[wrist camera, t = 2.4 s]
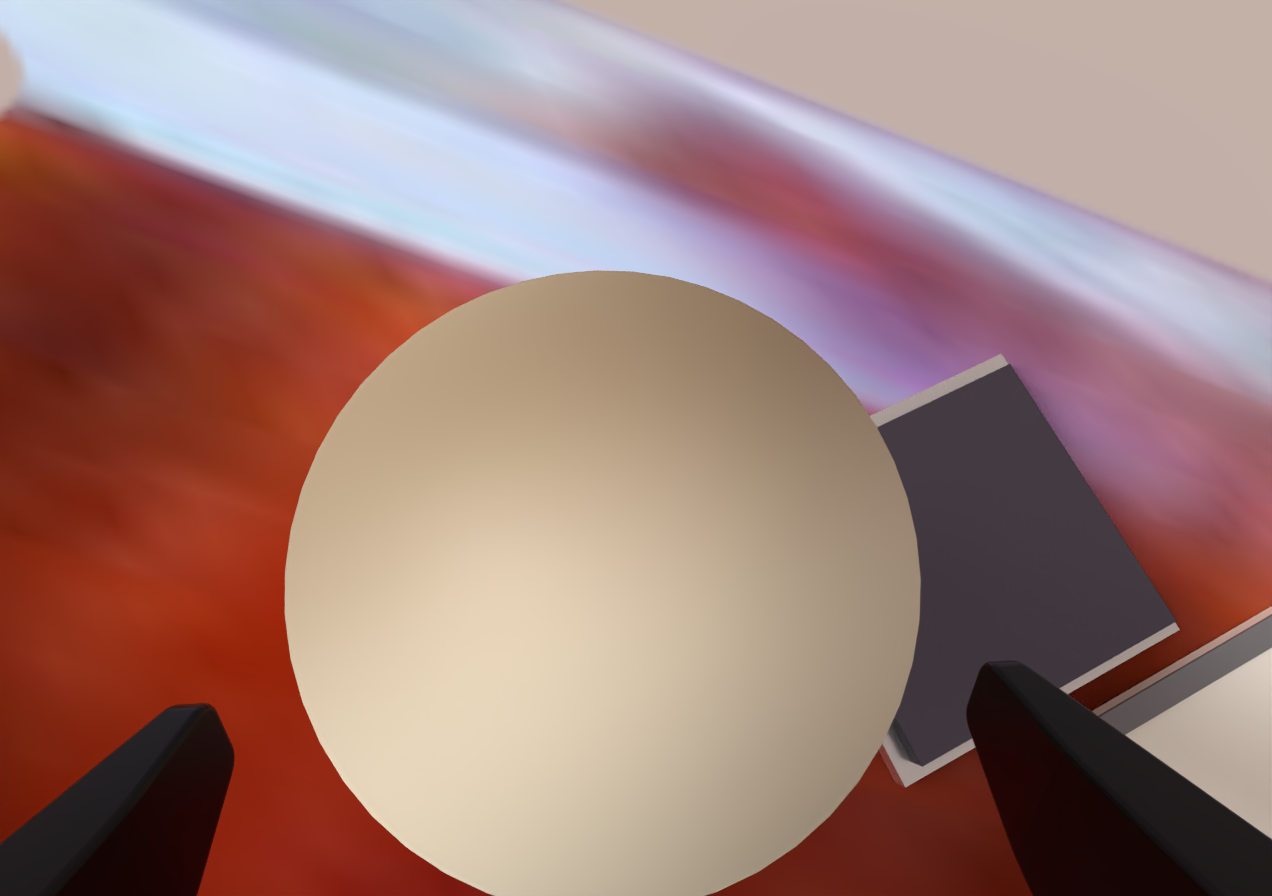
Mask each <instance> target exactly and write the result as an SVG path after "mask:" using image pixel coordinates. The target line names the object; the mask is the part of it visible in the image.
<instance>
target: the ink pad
mask: <svg viewBox="0 0 1272 896" xmlns="http://www.w3.org/2000/svg"><path fill="white" fill-rule="evenodd" d="M870 418H871V419H872V421H873V422H874V423H875V425H876V426H877V428H878V430H879V432H880V434H881V436H882V438H883V440H884V442H885V444H886V446H887V448H888V450H889V452H890V454H891V456H892V458H893V460H894V462H895V465H896V468H897V470H898V473H899V476H900V479H901V481H902V484H903V487H904V490H905V493H906V495H907V498H908V502H909V506H910V511H911V515H912V520H913V524H914V529H915V533H916V537H917V546H918V557H919V567H920V577H921V585H920V617H919V626H918V633H917V639H916V645H915V651H914V657H913V663H912V667H911V670H910V673H909V677H908V680H907V683H906V687H905V690H904V693H903V697H902V700H901V703H900V706H899V708H898V710H897V712H896V715H895V717H894V719H893V721H892V723H891V726H890V728H889V730H888V732H887V735H886V737H885V739H884V741H883V743H882V745H881V747H880V748H879V750H878V751H879V753H880V755H881V757H882V759H883V761H884V762H885V764H886V766H887V768H888V770H889V772H890V774H891V776H892V778H893V780H894V781H895V783H898V784H900V785H902V786H904V787H907V786H909V785H911V784H912V783H914V782H916V781H918V780H919V779H921V778H923V777H925V776H926V775H928V774H930V773H932V772H933V771H935V770H937V769H938V768H940V767H942V766H944V765H945V764H947V763H949V762H951V761H952V760H954V759H956V758H958V757H959V756H961V755H963V754H965V753H966V752H968V751H970V750H972V749H973V748H975V745H974V742H973V739H972V736H971V733H970V731H969V728H968V724H967V719H966V708H967V704H968V701H969V698H970V695H971V692H972V690H973V687H974V684H975V681H976V678H977V675H978V673H979V670H980V668H981V666H982V665H984V664H985V663H986V662H990V661H1009V660H1014V661H1019V662H1022V663H1024V664H1025V665H1027V666H1029V667H1030V668H1031V669H1033V670H1034V671H1036V672H1037V673H1038V674H1040V675H1041V676H1043V677H1044V678H1045V679H1047V680H1048V681H1050V682H1051V683H1053V684H1054V685H1055V686H1057V687H1058V688H1060V689H1061V690H1062V691H1064V692H1065V693H1067V694H1069V693H1071V692H1072V691H1074V690H1076V689H1078V688H1079V687H1081V686H1083V685H1085V684H1086V683H1088V682H1090V681H1092V680H1093V679H1095V678H1097V677H1098V676H1100V675H1102V674H1104V673H1105V672H1107V671H1109V670H1111V669H1112V668H1114V667H1116V666H1118V665H1119V664H1121V663H1123V662H1125V661H1126V660H1128V659H1130V658H1132V657H1133V656H1135V655H1137V654H1138V653H1140V652H1142V651H1144V650H1145V649H1147V648H1149V647H1151V646H1152V645H1154V644H1156V643H1158V642H1159V641H1161V640H1163V639H1165V638H1166V637H1168V636H1170V635H1172V634H1173V633H1175V632H1177V631H1178V630H1180V629H1179V628H1178V626H1177V624H1176V623H1175V622H1176V620H1175V618H1174V616H1173V615H1172V613H1171V612H1170V610H1169V609H1168V607H1167V606H1166V604H1165V603H1164V601H1163V599H1162V598H1161V596H1160V595H1159V593H1158V592H1157V590H1156V589H1155V587H1154V586H1153V584H1152V582H1151V581H1150V579H1149V578H1148V576H1147V575H1146V573H1145V572H1144V570H1143V569H1142V567H1141V565H1140V564H1139V562H1138V561H1137V559H1136V558H1135V556H1134V555H1133V553H1132V552H1131V550H1130V549H1129V547H1128V545H1127V544H1126V542H1125V541H1124V539H1123V538H1122V536H1121V535H1120V533H1119V532H1118V530H1117V528H1116V527H1115V525H1114V524H1113V522H1112V521H1111V519H1110V518H1109V516H1108V515H1107V513H1106V511H1105V510H1104V508H1103V507H1102V505H1101V504H1100V502H1099V501H1098V499H1097V498H1096V496H1095V494H1094V493H1093V491H1092V490H1091V488H1090V487H1089V485H1088V484H1087V482H1086V481H1085V479H1084V478H1083V476H1082V474H1081V473H1080V471H1079V470H1078V468H1077V467H1076V465H1075V464H1074V462H1073V461H1072V459H1071V457H1070V456H1069V454H1068V453H1067V451H1066V450H1065V448H1064V447H1063V445H1062V444H1061V442H1060V440H1059V439H1058V437H1057V436H1056V434H1055V433H1054V431H1053V430H1052V428H1051V427H1050V425H1049V423H1048V422H1047V420H1046V419H1045V417H1044V416H1043V414H1042V413H1041V411H1040V410H1039V408H1038V406H1037V405H1036V403H1035V402H1034V400H1033V399H1032V397H1031V396H1030V394H1029V393H1028V391H1027V390H1026V388H1025V386H1024V385H1023V383H1022V382H1021V380H1020V379H1019V377H1018V376H1017V374H1016V373H1015V371H1014V369H1013V368H1012V366H1011V365H1010V364H1008V363H1007V362H1006V360H1005V359H1004V357H1003V356H1002V354H1000V355H998V356H996V357H993V358H991V359H989V360H987V361H985V362H983V363H981V364H979V365H977V366H974V367H972V368H970V369H968V370H966V371H964V372H962V373H960V374H958V375H955V376H953V377H951V378H949V379H947V380H945V381H943V382H941V383H939V384H936V385H934V386H932V387H930V388H928V389H926V390H924V391H922V392H920V393H918V394H915V395H913V396H911V397H909V398H907V399H905V400H903V401H901V402H899V403H896V404H894V405H892V406H890V407H888V408H886V409H884V410H882V411H880V412H877V413H875V414H873V415H871V416H870Z"/></svg>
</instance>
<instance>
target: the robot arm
mask: <svg viewBox="0 0 1272 896" xmlns="http://www.w3.org/2000/svg"><path fill="white" fill-rule="evenodd" d="M966 719H967V724H968V728H969V731H970V733H971V736H972V739H973V742H974V745H975V748H976V750H977V753H978V756H979V759H980V762H981V764H982V767H983V770H984V773H985V776H986V778H987V781H988V784H989V787H990V790H991V793H992V795H993V798H994V801H995V804H996V807H997V809H998V812H999V815H1000V818H1001V821H1002V823H1003V826H1004V829H1005V832H1006V835H1007V837H1008V840H1009V842H1010V845H1011V848H1012V850H1013V853H1014V855H1015V857H1016V860H1017V862H1018V864H1019V867H1020V869H1021V871H1022V873H1023V876H1024V878H1025V880H1026V882H1027V884H1028V886H1029V888H1030V891H1031V893H1032V895H1033V896H1272V839H1271V838H1270V837H1268V836H1267V835H1265V834H1264V833H1263V832H1261V831H1260V830H1258V829H1257V828H1256V827H1254V826H1253V825H1251V824H1250V823H1249V822H1247V821H1246V820H1244V819H1243V818H1241V817H1240V816H1239V815H1237V814H1236V813H1234V812H1233V811H1232V810H1230V809H1229V808H1227V807H1226V806H1225V805H1223V804H1222V803H1220V802H1219V801H1217V800H1216V799H1215V798H1213V797H1212V796H1210V795H1209V794H1208V793H1206V792H1205V791H1203V790H1202V789H1201V788H1199V787H1198V786H1196V785H1195V784H1194V783H1192V782H1191V781H1189V780H1188V779H1186V778H1185V777H1184V776H1182V775H1181V774H1179V773H1178V772H1177V771H1175V770H1174V769H1172V768H1171V767H1170V766H1168V765H1167V764H1165V763H1164V762H1163V761H1161V760H1160V759H1158V758H1157V757H1155V756H1154V755H1153V754H1151V753H1150V752H1148V751H1147V750H1146V749H1144V748H1143V747H1141V746H1140V745H1139V744H1137V743H1136V742H1134V741H1133V740H1131V739H1130V738H1129V737H1127V736H1126V735H1124V734H1123V733H1122V732H1120V731H1119V730H1117V729H1116V728H1115V727H1113V726H1112V725H1110V724H1109V723H1108V722H1106V721H1105V720H1103V719H1102V718H1100V717H1099V716H1098V715H1096V714H1095V713H1093V712H1092V711H1091V710H1089V709H1088V708H1086V707H1085V706H1084V705H1082V704H1081V703H1079V702H1078V701H1076V700H1075V699H1074V698H1072V697H1071V696H1069V695H1068V694H1067V693H1065V692H1064V691H1062V690H1061V689H1060V688H1058V687H1057V686H1055V685H1054V684H1053V683H1051V682H1050V681H1048V680H1047V679H1045V678H1044V677H1043V676H1041V675H1040V674H1038V673H1037V672H1036V671H1034V670H1033V669H1031V668H1030V667H1029V666H1027V665H1025V664H1024V663H1022V662H1019V661H1014V660H1009V661H990V662H986V663H985V664H984V665H982V666H981V668H980V670H979V673H978V675H977V678H976V681H975V684H974V687H973V690H972V692H971V695H970V698H969V701H968V704H967V708H966ZM233 767H234V750H233V746H232V744H231V742H230V740H229V737H228V735H227V733H226V731H225V729H224V726H223V724H222V722H221V720H220V718H219V715H218V713H217V711H216V709H215V708H214V707H213V706H211V705H210V704H206V703H198V704H180V705H174V706H171V707H169V708H167V709H166V710H164V711H163V712H161V713H160V714H159V715H158V716H157V717H155V718H154V719H153V720H152V721H150V722H149V723H148V724H147V725H146V726H144V727H143V728H142V729H141V730H139V731H138V732H137V733H136V734H134V735H133V736H132V737H131V738H130V739H128V740H127V741H126V742H125V743H123V744H122V745H121V746H120V747H119V748H117V749H116V750H115V751H114V752H112V753H111V754H110V755H109V756H107V757H106V758H105V759H104V760H103V761H101V762H100V763H99V764H98V765H96V766H95V767H94V768H93V769H91V770H90V771H89V772H88V773H87V774H85V775H84V776H83V777H82V778H80V779H79V780H78V781H77V782H76V783H74V784H73V785H72V786H71V787H69V788H68V789H67V790H66V791H64V792H63V793H62V794H61V795H60V796H58V797H57V798H56V799H55V800H53V801H52V802H51V803H50V804H49V805H47V806H46V807H45V808H44V809H42V810H41V811H40V812H39V813H37V814H36V815H35V816H34V817H33V818H31V819H30V820H29V821H28V822H26V823H25V824H24V825H23V826H21V827H20V828H19V829H18V830H17V831H15V832H14V833H13V834H12V835H10V836H9V837H8V838H7V839H6V840H4V841H3V842H2V843H1V844H0V896H197V893H198V890H199V887H200V884H201V880H202V877H203V873H204V870H205V866H206V863H207V859H208V856H209V852H210V849H211V845H212V842H213V838H214V835H215V831H216V828H217V824H218V821H219V817H220V814H221V810H222V807H223V803H224V800H225V796H226V793H227V789H228V786H229V782H230V779H231V775H232V772H233Z"/></svg>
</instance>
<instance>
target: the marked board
mask: <svg viewBox="0 0 1272 896" xmlns="http://www.w3.org/2000/svg"><path fill="white" fill-rule="evenodd" d="M1092 712H1093V713H1095V714H1096V715H1098V716H1099V717H1100V718H1102V719H1103V720H1105V721H1106V722H1108V723H1109V724H1110V725H1112V726H1113V727H1115V728H1116V729H1117V730H1119V731H1120V732H1122V733H1123V734H1124V735H1126V736H1127V737H1129V738H1130V739H1131V740H1133V741H1134V742H1136V743H1137V744H1139V745H1140V746H1141V747H1143V748H1144V749H1146V750H1147V751H1148V752H1150V753H1151V754H1153V755H1154V756H1155V757H1157V758H1158V759H1160V760H1161V761H1163V762H1164V763H1165V764H1167V765H1168V766H1170V767H1171V768H1172V769H1174V770H1175V771H1177V772H1178V773H1179V774H1181V775H1182V776H1184V777H1185V778H1186V779H1188V780H1189V781H1191V782H1192V783H1194V784H1195V785H1196V786H1198V787H1199V788H1201V789H1202V790H1203V791H1205V792H1206V793H1208V794H1209V795H1210V796H1212V797H1213V798H1215V799H1216V800H1217V801H1219V802H1220V803H1222V804H1223V805H1225V806H1226V807H1227V808H1229V809H1230V810H1232V811H1233V812H1234V813H1236V814H1237V815H1239V816H1240V817H1241V818H1243V819H1244V820H1246V821H1247V822H1249V823H1250V824H1251V825H1253V826H1254V827H1256V828H1257V829H1258V830H1260V831H1261V832H1263V833H1264V834H1265V835H1267V836H1268V837H1270V838H1271V839H1272V606H1271V607H1269V608H1268V609H1266V610H1264V611H1262V612H1261V613H1259V614H1257V615H1256V616H1254V617H1252V618H1250V619H1249V620H1247V621H1245V622H1244V623H1242V624H1240V625H1238V626H1237V627H1235V628H1233V629H1232V630H1230V631H1228V632H1226V633H1225V634H1223V635H1221V636H1220V637H1218V638H1216V639H1214V640H1213V641H1211V642H1209V643H1208V644H1206V645H1204V646H1202V647H1201V648H1199V649H1197V650H1196V651H1194V652H1192V653H1190V654H1189V655H1187V656H1185V657H1184V658H1182V659H1180V660H1178V661H1177V662H1175V663H1173V664H1172V665H1170V666H1168V667H1166V668H1165V669H1163V670H1161V671H1160V672H1158V673H1156V674H1154V675H1153V676H1151V677H1149V678H1148V679H1146V680H1144V681H1142V682H1141V683H1139V684H1137V685H1136V686H1134V687H1132V688H1130V689H1129V690H1127V691H1125V692H1124V693H1122V694H1120V695H1118V696H1117V697H1115V698H1113V699H1112V700H1110V701H1108V702H1106V703H1105V704H1103V705H1101V706H1100V707H1098V708H1096V709H1094V710H1093V711H1092Z"/></svg>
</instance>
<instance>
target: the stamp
mask: <svg viewBox="0 0 1272 896" xmlns="http://www.w3.org/2000/svg"><path fill="white" fill-rule="evenodd" d="M920 585H921V577H920V567H919V557H918V546H917V537H916V533H915V529H914V524H913V520H912V515H911V511H910V506H909V502H908V498H907V495H906V493H905V490H904V487H903V484H902V481H901V479H900V476H899V473H898V470H897V468H896V465H895V462H894V460H893V458H892V456H891V454H890V452H889V450H888V448H887V446H886V444H885V442H884V440H883V438H882V436H881V434H880V432H879V430H878V428H877V426H876V425H875V423H874V422H873V421H872V419H871V418H870V416H869V415H868V413H867V412H866V410H865V409H864V407H863V406H862V404H861V403H860V401H859V400H858V398H857V397H856V395H855V394H854V393H853V392H852V390H851V389H850V388H849V387H848V386H847V385H846V383H845V382H844V381H843V380H842V379H841V378H840V376H839V375H838V374H837V373H836V372H835V371H834V370H833V368H832V367H831V366H830V365H829V364H828V363H827V362H826V361H824V360H823V359H822V358H821V357H820V356H819V355H818V354H817V353H816V352H815V351H814V350H812V349H811V348H810V347H809V346H808V345H807V344H806V343H805V342H804V341H803V340H801V339H800V338H798V337H797V336H796V335H794V334H793V333H791V332H790V331H789V330H787V329H786V328H784V327H783V326H782V325H780V324H779V323H777V322H776V321H775V320H773V319H772V318H770V317H768V316H766V315H764V314H763V313H761V312H759V311H757V310H755V309H754V308H752V307H750V306H748V305H746V304H744V303H743V302H741V301H739V300H736V299H734V298H731V297H729V296H726V295H724V294H721V293H719V292H717V291H714V290H712V289H709V288H707V287H704V286H700V285H696V284H693V283H689V282H685V281H682V280H678V279H674V278H671V277H665V276H658V275H651V274H645V273H638V272H626V271H586V272H574V273H563V274H556V275H551V276H546V277H541V278H537V279H532V280H527V281H522V282H519V283H516V284H513V285H510V286H507V287H504V288H501V289H498V290H495V291H492V292H489V293H487V294H484V295H482V296H480V297H478V298H476V299H474V300H472V301H470V302H468V303H465V304H463V305H461V306H459V307H457V308H455V309H453V310H451V311H449V312H448V313H446V314H445V315H443V316H442V317H440V318H438V319H437V320H435V321H434V322H432V323H430V324H429V325H427V326H426V327H424V328H422V329H421V330H419V331H418V332H417V333H416V334H414V335H413V336H412V337H411V338H410V339H408V340H407V341H406V342H405V343H403V344H402V345H401V346H400V347H398V348H397V349H396V350H395V351H394V352H392V353H391V354H390V355H389V356H388V357H387V358H386V359H385V360H384V361H383V362H382V363H381V364H380V365H379V366H378V367H377V368H376V369H375V370H374V371H373V372H372V374H371V375H370V376H369V377H368V378H367V379H366V380H365V381H364V382H363V383H362V384H361V385H360V387H359V388H358V389H357V391H356V392H355V393H354V395H353V396H352V397H351V399H350V400H349V401H348V403H347V404H346V405H345V407H344V408H343V409H342V411H341V412H340V413H339V415H338V416H337V418H336V420H335V421H334V423H333V425H332V427H331V428H330V430H329V432H328V434H327V435H326V437H325V439H324V441H323V442H322V444H321V446H320V448H319V449H318V451H317V454H316V456H315V459H314V461H313V463H312V466H311V468H310V471H309V473H308V475H307V478H306V480H305V483H304V485H303V488H302V490H301V494H300V498H299V501H298V505H297V509H296V513H295V516H294V520H293V524H292V527H291V532H290V540H289V547H288V554H287V561H286V569H285V619H286V627H287V635H288V642H289V650H290V658H291V662H292V665H293V669H294V673H295V676H296V680H297V684H298V687H299V691H300V695H301V698H302V702H303V704H304V706H305V709H306V711H307V713H308V716H309V718H310V720H311V723H312V725H313V727H314V730H315V732H316V734H317V737H318V739H319V741H320V743H321V745H322V747H323V748H324V750H325V752H326V753H327V755H328V757H329V758H330V760H331V761H332V763H333V765H334V766H335V768H336V770H337V771H338V773H339V775H340V776H341V778H342V780H343V781H344V782H345V784H346V785H347V786H348V787H349V789H350V790H351V791H352V792H353V793H354V795H355V796H356V797H357V798H358V799H359V801H360V802H361V803H362V804H363V805H364V807H365V808H366V809H367V810H368V812H369V813H370V814H371V815H372V816H373V817H374V818H375V819H376V820H377V821H378V822H379V823H380V824H381V825H382V826H384V827H385V828H386V829H387V830H388V831H389V832H390V833H391V834H392V835H394V836H395V837H396V838H397V839H398V840H399V841H400V842H401V843H402V844H403V845H405V846H406V847H407V848H408V849H410V850H411V851H413V852H414V853H416V854H417V855H419V856H420V857H422V858H423V859H425V860H426V861H428V862H429V863H431V864H432V865H434V866H435V867H437V868H438V869H440V870H441V871H443V872H444V873H446V874H448V875H450V876H452V877H454V878H456V879H458V880H460V881H463V882H465V883H467V884H469V885H471V886H473V887H475V888H477V889H480V890H482V891H484V892H486V893H488V894H491V895H495V896H705V895H709V894H712V893H715V892H718V891H720V890H722V889H724V888H726V887H728V886H730V885H732V884H734V883H736V882H738V881H740V880H743V879H745V878H747V877H749V876H751V875H753V874H755V873H757V872H759V871H760V870H762V869H763V868H765V867H766V866H768V865H769V864H771V863H772V862H774V861H775V860H777V859H778V858H780V857H781V856H783V855H784V854H786V853H787V852H789V851H790V850H792V849H793V848H794V847H796V846H797V845H798V844H799V843H801V842H802V841H803V840H804V839H805V838H806V837H807V836H808V835H809V834H810V833H812V832H813V831H814V830H815V829H816V828H817V827H818V826H819V825H820V824H822V823H823V822H824V821H825V820H826V819H827V818H828V817H829V816H830V815H831V814H832V813H833V812H834V810H835V809H836V808H837V807H838V806H839V804H840V803H841V802H842V801H843V800H844V798H845V797H846V796H847V795H848V794H849V793H850V791H851V790H852V789H853V788H854V787H855V785H856V784H857V783H858V782H859V780H860V779H861V777H862V775H863V774H864V772H865V771H866V769H867V767H868V766H869V764H870V763H871V761H872V759H873V758H874V756H875V755H876V753H877V751H878V750H879V748H880V747H881V745H882V743H883V741H884V739H885V737H886V735H887V732H888V730H889V728H890V726H891V723H892V721H893V719H894V717H895V715H896V712H897V710H898V708H899V706H900V703H901V700H902V697H903V693H904V690H905V687H906V683H907V680H908V677H909V673H910V670H911V667H912V663H913V657H914V651H915V645H916V639H917V633H918V626H919V617H920Z"/></svg>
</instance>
